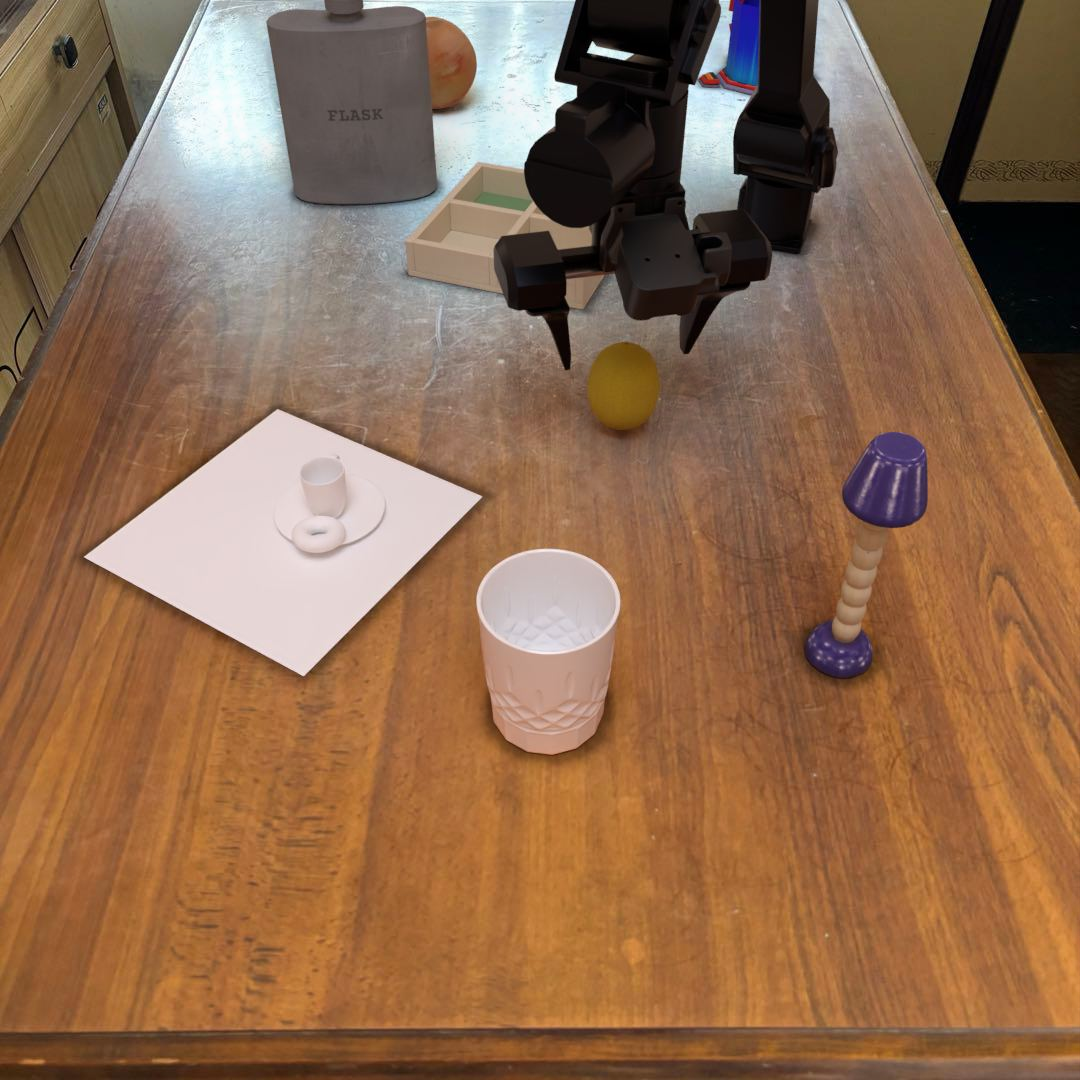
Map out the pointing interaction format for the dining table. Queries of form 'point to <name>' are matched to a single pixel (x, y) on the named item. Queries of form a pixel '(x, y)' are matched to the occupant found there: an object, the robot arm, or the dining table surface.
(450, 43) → the onion
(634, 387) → the lemon
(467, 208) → the tray
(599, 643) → the white cup
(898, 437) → the toy lamp
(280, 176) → the dining table surface
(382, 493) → the teacup and saucer
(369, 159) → the flask
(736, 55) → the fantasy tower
